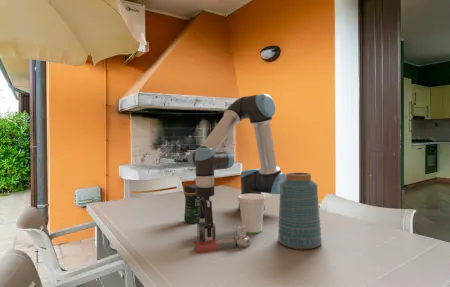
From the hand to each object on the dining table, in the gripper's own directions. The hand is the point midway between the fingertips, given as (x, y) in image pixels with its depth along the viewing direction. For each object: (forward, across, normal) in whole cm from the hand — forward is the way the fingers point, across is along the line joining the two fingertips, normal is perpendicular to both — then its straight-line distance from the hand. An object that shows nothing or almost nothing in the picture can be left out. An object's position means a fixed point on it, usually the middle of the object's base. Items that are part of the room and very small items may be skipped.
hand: (205, 239), depth 110 cm
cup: (0, -4, +22) cm, 22 cm away
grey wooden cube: (0, 0, 0) cm, 0 cm away
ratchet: (0, +10, +5) cm, 11 cm away
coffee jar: (0, -27, -1) cm, 27 cm away
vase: (0, +14, +34) cm, 37 cm away
